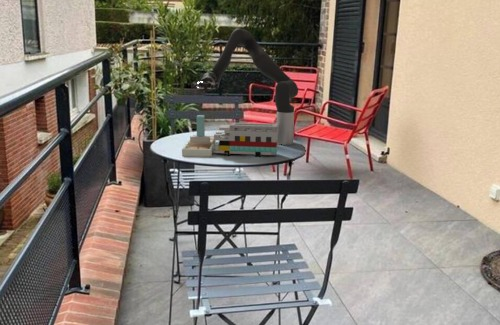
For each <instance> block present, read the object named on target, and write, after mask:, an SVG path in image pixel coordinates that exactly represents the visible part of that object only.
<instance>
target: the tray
mask: <svg viewBox="0 0 500 325" xmlns="http://www.w3.org/2000/svg"><path fill="white" fill-rule="evenodd" d="M213 154H214V145H211V147H210V149H188V143H185V144H184V146H182V148H181V156H182V157H209V158H210V157H212V156H213Z"/></svg>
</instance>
